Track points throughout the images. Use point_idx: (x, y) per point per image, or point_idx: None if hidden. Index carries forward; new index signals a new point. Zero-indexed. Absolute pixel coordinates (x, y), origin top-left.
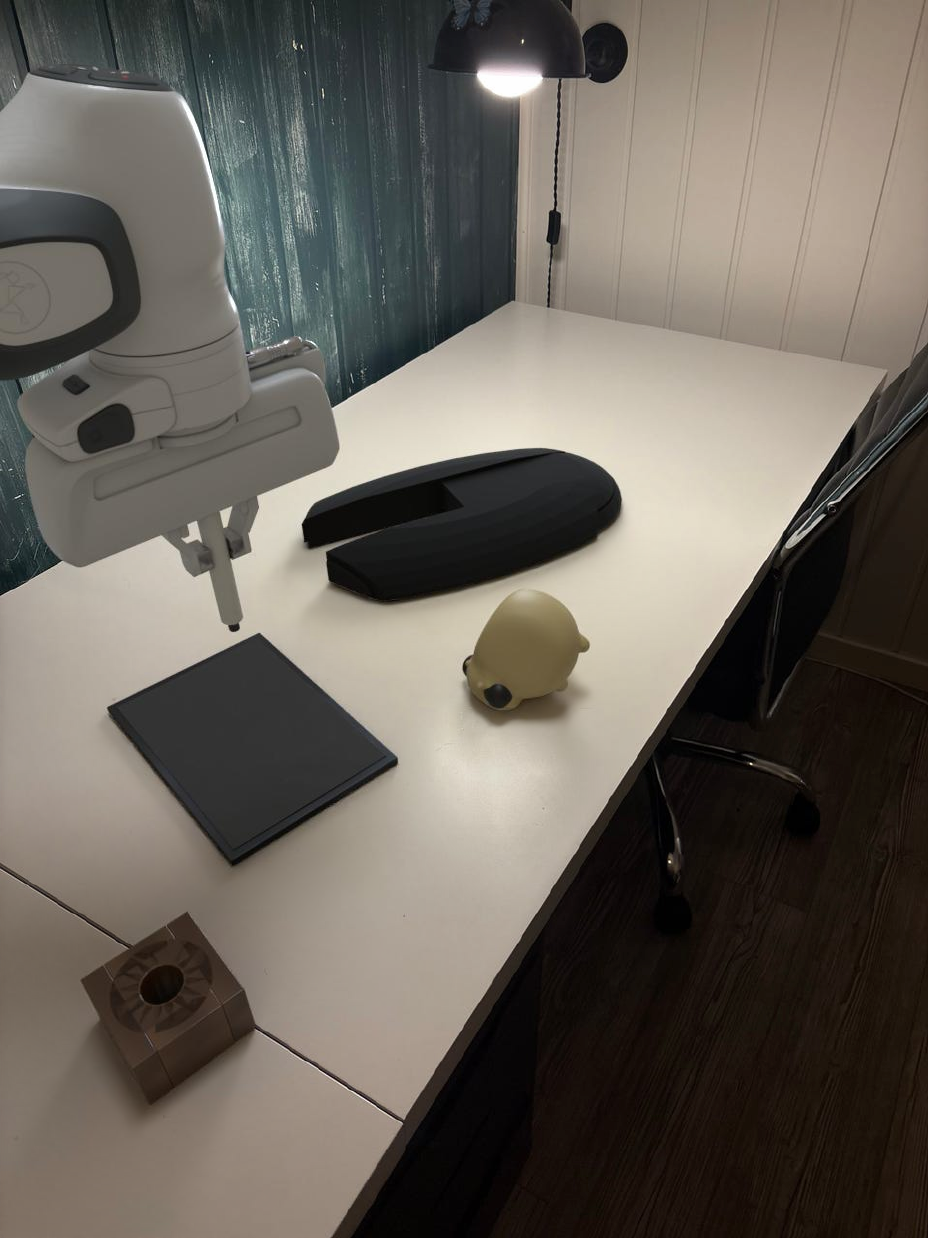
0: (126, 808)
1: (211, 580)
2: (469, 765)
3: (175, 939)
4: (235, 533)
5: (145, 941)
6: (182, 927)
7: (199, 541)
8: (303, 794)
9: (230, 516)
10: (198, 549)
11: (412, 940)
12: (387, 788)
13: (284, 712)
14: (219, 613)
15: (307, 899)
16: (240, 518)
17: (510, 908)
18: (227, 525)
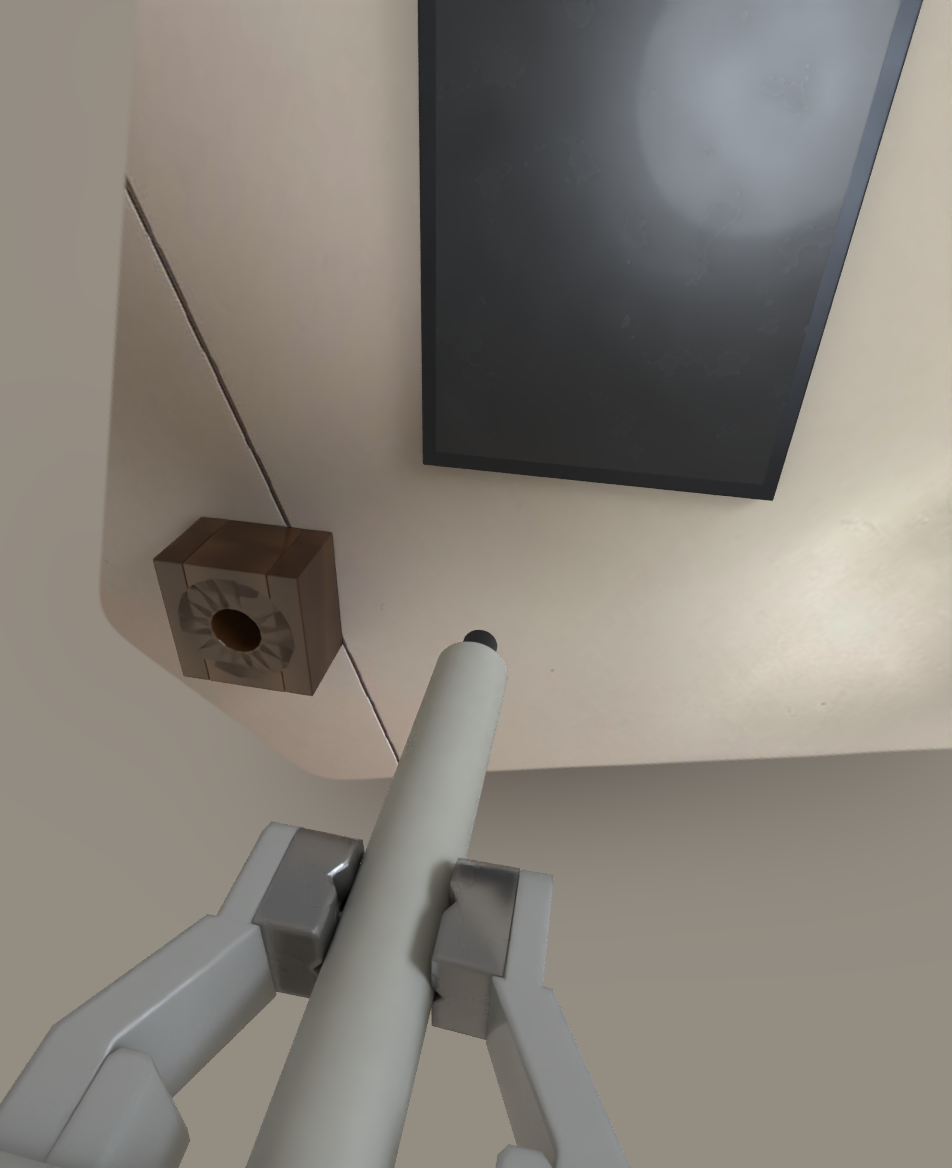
0: (337, 194)
1: (388, 790)
2: (841, 583)
3: (268, 599)
4: (486, 1015)
5: (235, 574)
6: (282, 591)
7: (318, 950)
8: (589, 445)
9: (511, 1041)
10: (287, 976)
11: (535, 694)
12: (708, 519)
13: (731, 214)
14: (430, 679)
15: (477, 573)
16: (516, 1115)
17: (648, 745)
18: (494, 976)
